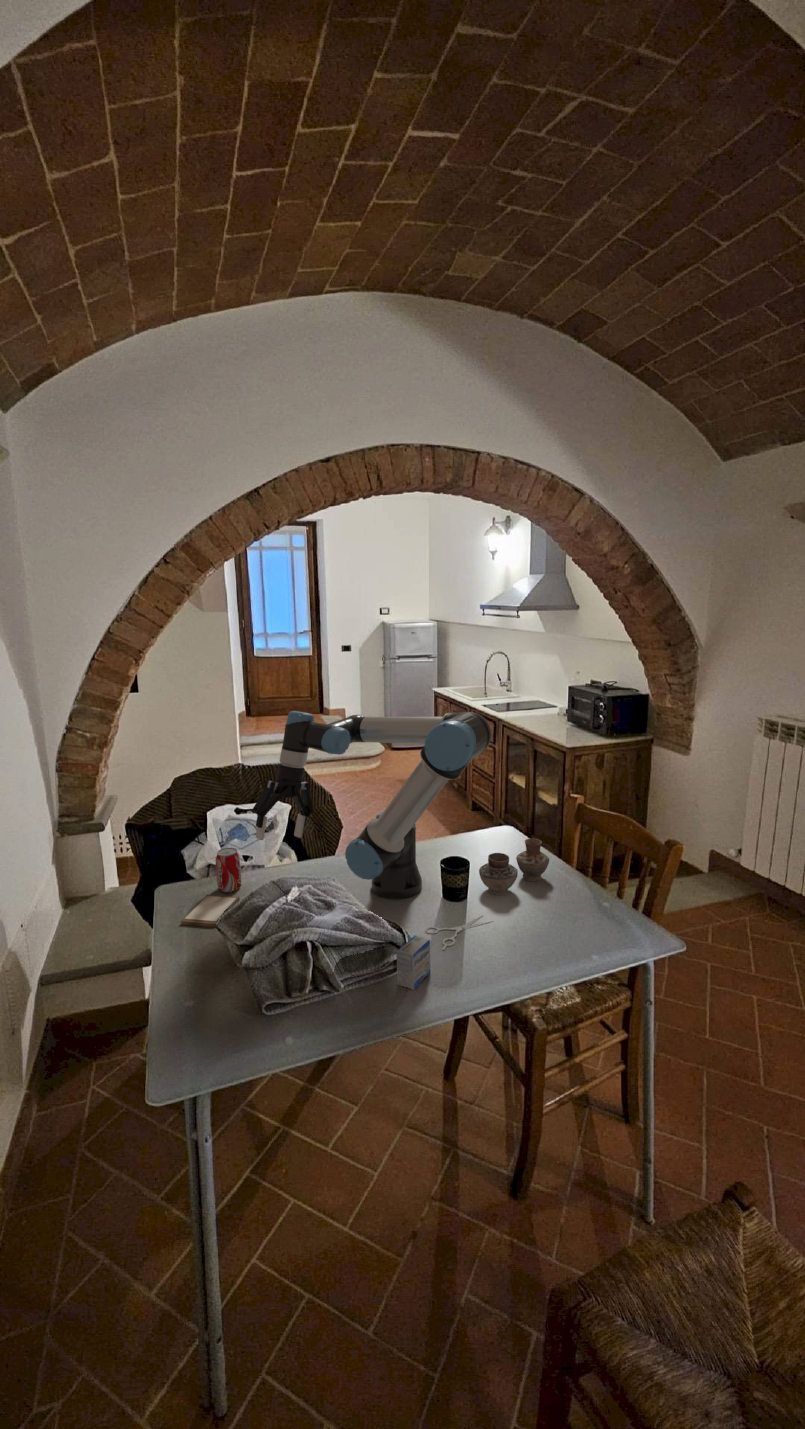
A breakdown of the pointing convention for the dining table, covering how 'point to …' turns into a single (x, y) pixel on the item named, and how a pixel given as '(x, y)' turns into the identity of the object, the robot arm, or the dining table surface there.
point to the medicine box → (413, 962)
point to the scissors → (457, 929)
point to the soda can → (228, 870)
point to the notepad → (209, 910)
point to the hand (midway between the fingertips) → (279, 837)
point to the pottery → (503, 875)
